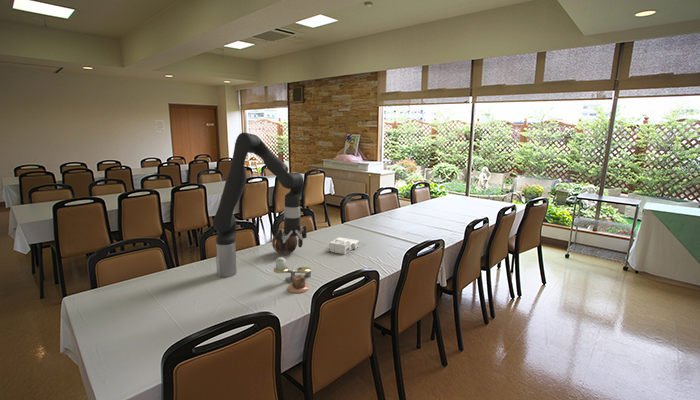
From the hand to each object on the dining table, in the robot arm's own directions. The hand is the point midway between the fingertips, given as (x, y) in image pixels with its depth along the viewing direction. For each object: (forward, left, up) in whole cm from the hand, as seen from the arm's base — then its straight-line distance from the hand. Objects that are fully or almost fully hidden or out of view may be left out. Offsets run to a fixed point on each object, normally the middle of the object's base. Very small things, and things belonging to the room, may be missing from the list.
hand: (291, 248), depth 164 cm
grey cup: (-3, +7, -12) cm, 15 cm away
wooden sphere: (+17, +43, -20) cm, 50 cm away
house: (+54, +32, -21) cm, 66 cm away
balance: (+4, +7, -20) cm, 21 cm away
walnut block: (+2, -3, -19) cm, 19 cm away
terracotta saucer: (+2, -3, -20) cm, 20 cm away
